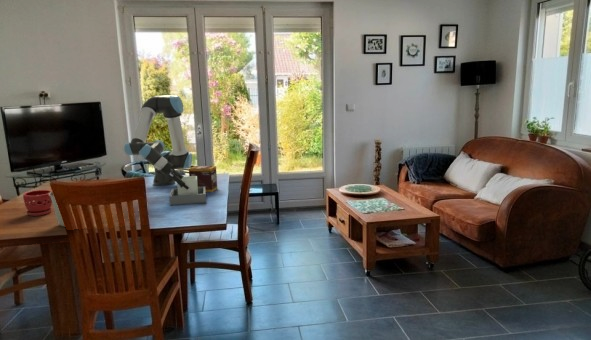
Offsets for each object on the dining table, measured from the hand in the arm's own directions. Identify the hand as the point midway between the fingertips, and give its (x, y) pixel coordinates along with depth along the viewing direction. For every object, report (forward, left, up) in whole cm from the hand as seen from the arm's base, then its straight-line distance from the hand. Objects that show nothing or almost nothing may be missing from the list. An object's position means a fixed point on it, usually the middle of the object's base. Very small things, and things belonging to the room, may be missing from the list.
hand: (193, 189), depth 234 cm
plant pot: (+5, -81, -6) cm, 81 cm away
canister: (+30, -57, -6) cm, 65 cm away
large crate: (0, -3, -6) cm, 7 cm away
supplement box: (-25, +6, -6) cm, 26 cm away
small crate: (0, -3, -4) cm, 5 cm away
